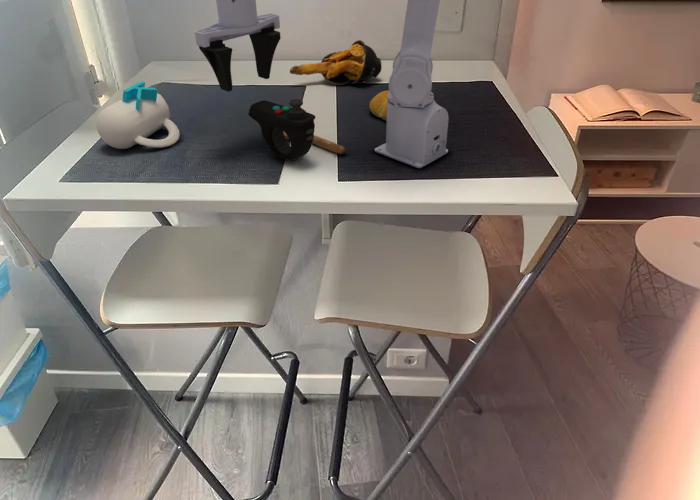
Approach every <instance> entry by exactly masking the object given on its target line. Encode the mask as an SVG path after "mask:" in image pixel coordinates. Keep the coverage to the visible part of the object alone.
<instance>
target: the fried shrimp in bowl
mask: <svg viewBox="0 0 700 500" xmlns="http://www.w3.org/2000/svg"><path fill="white" fill-rule="evenodd" d="M382 68H383V67H382V60H381V58H380V57H378V56H377V54H376V52H375V50H374V49H373V48H372V47H370V46H368V45H367V44H365V42H364V41H363V40H361V39H358V40H355V41H354V42H353V43H352V44H351V45H350V47H349V49H345V50H343V51H342V50H339V51H337V52H336V51H335V52H331V53H329V54H327V55H326V56H324V57H323V58H322V59H321V62H316V63H315V62H314V63H302V64H301V65H293V66H292V67H291V68H290V69H289V73H290V74H291V75H296V76H303V75H306V76H310V75H315V74H321V76H322V77H323V79H325V80H326V81H327V82H328V83H329V84H332V85H335V86H344V85H347V84H350V85H356V84H359V83H360V84H361V83H366V82H368V81H369V80H371V79H372V78H377V77H378V76H379V75H380V74H381V72H382Z"/></svg>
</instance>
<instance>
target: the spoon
mask: <svg viewBox="0 0 700 500" xmlns="http://www.w3.org/2000/svg"><path fill="white" fill-rule="evenodd" d="M283 133H284V137H285V139H286V141H290V139H289V137H288V136H287V134H286V133H285V132H284V131H283ZM312 145H316V146H317V147H321V148H323V149H325V150H327V151H330V152H333V153H335V154H338V155H344V154H345V152H346V148H345V146H343V145H340V144H339V143H335V142H333V141H332V140H331V141H330V140H327V139H325V138H322V137H320V136H318V135H316V134H314V138H313V143H312Z"/></svg>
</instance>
